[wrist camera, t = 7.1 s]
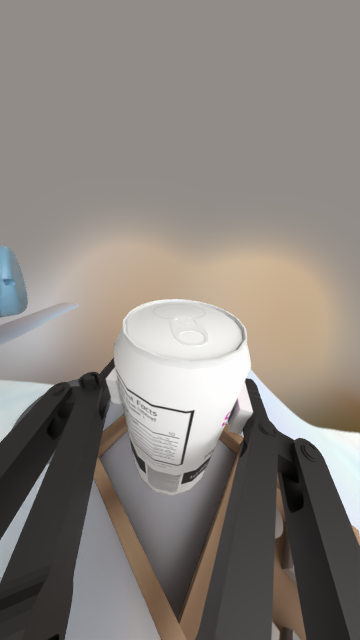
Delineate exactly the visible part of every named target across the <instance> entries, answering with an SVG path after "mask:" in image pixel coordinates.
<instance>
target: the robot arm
mask: <svg viewBox="0 0 360 640" xmlns="http://www.w3.org/2000/svg"><path fill="white" fill-rule="evenodd" d="M27 304H28V301H27V292H26V287H25V283H24V279H23V275H22V272H21V269H20V266H19V263H18V261H17V258H16V256H15V254H14V253H13V251H12V250H10V249H9V248H8V247H5V246H0V317H5V316H11V315H16V314H20V313H22V312H24V311H25V309H26V308H27ZM78 383H79V385H80V386H72V387H71V386H70V384H69V383H67V382H62V383H59V384H56V385H54V386H53V387H51V388H50V389H49V390H48V391H47V392H46V393H45V394H44V395H43V396H42V398H41V399H40V400H39V401H38V402H37V403H36V404H35V405H34V406H33V407H32V408H31V410H30V411H29V412H28V413H27V414H26V415H25V416H24V417H23V418H22V419H21V420H20V422H19V423H18V424H17V425H16V426H15V427H14V428H13V429H12V430H11V431H10V433H9V434H8V435H7V436H6V437H5V438H4V439H3V440H2V441H1V442H0V540H1V538H2V536H3V535H4V533H5V531H6V530H7V528H8V526H9V525H10V523H11V522H12V520H13V518H14V517H15V515H16V513H17V512H18V510H19V509H20V507H21V505H22V504H23V502H24V500H25V499H26V497H27V495H28V494H29V492H30V491H31V489H32V487H33V486H34V484H35V482H36V481H37V479H38V477H39V476H40V474H41V473H42V471H43V469H44V468H45V466H46V464H47V463H48V461H49V460H50V458H51V456H52V455H53V453H54V451H55V453H54V455H53V457H52V460H51V462H50V465H49V467H48V469H47V472H46V474H45V477H44V479H43V482H42V484H41V486H40V489H39V491H38V494H37V496H36V498H35V501H34V503H33V506H32V508H31V510H30V513H29V515H28V518H27V520H26V522H25V525H24V527H23V530H22V532H21V534H20V537H19V539H18V542H17V544H16V546H15V549H14V551H13V554H12V556H11V559H10V561H9V563H8V566H7V568H6V571H5V573H4V575H3V578H2V580H1V583H0V640H64V639H65V634H66V629H67V624H68V619H69V613H70V608H71V602H72V595H73V576H74V569H75V564H76V559H77V554H78V549H79V544H80V540H81V535H82V530H83V525H84V520H85V515H86V510H87V506H88V501H89V496H90V491H91V486H92V481H93V476H94V472H95V467H96V462H97V457H98V452H99V447H100V442H101V438H102V433H103V428H104V423H105V418H106V413H107V408H108V401H109V400H110V398H111V401H112V402H113V403H117V404H121V403H122V398H121V393H120V388H119V383H118V378H117V373H116V368H115V363H114V358H113V359H112V360H111V362H110V363H109V364H108V365H107V366H106V367H105V368H104V369H103V371H102V372H101V373H100V374H98V373H97V372H90V373H87V374H85V375H83V376H82V377H80V379H79V380H78ZM228 425H229V432H233V433H237V434H241V432H242V431H243V435H244V438H243V440H242V442H241V443H240V445H239V446H240V447H241V449H240V453H239V458H238V462H237V466H236V471H235V475H234V479H233V484H232V488H231V492H230V497H229V501H228V505H227V510H226V514H225V518H224V523H223V527H222V531H221V536H220V540H219V544H218V549H217V553H216V557H215V562H214V566H213V570H212V575H211V579H210V583H209V588H208V592H207V596H206V601H205V605H204V609H203V614H202V618H201V622H200V626H199V630H198V633H197V636H196V639H195V640H271V636H272V608H273V580H274V552H275V524H276V496H277V473H278V479H279V485H280V491H281V496H282V502H283V508H284V514H285V519H286V525H287V531H288V537H289V542H290V548H291V554H292V560H293V565H294V571H295V577H296V583H297V589H298V594H299V600H300V606H301V612H302V617H303V623H304V629H305V635H306V640H360V545H359V543H358V540H357V538H356V536H355V533H354V531H353V528H352V526H351V523H350V521H349V518H348V516H347V514H346V511H345V509H344V506H343V504H342V501H341V499H340V497H339V494H338V492H337V489H336V487H335V484H334V482H333V479H332V477H331V475H330V472H329V470H328V467H327V465H326V462H325V460H324V458H323V456H322V454H321V453H320V451H319V450H318V449H317V448H316V447H315V446H314V445H313V444H312V443H310V442H309V441H307V440H305V439H302V438H298V439H296V440H293V439H291V438H290V437H288V436H286V435H284V434H282V433H281V432H279V431H278V430H277V429H276V427H275V426H274V425H273V424H272V423H271V422H270V421H269V419H268V417H267V414H266V411H265V408H264V405H263V402H262V400H261V398H260V394H259V391H258V388H257V385H256V384H255V383H254V381H253V380H252V379H247V378H246V379H245V382H244V384H243V386H242V388H241V391H240V393H239V395H238V397H237V400H236V402H235V404H234V406H233V408H232V411H231V413H230V415H229V417H228Z"/></svg>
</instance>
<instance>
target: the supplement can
mask: <svg viewBox="0 0 360 640" xmlns="http://www.w3.org/2000/svg"><path fill="white" fill-rule="evenodd" d="M247 339H248V338H247V334H246V328H245V326H244V325H243V324H242V323H241V322H240V320H238V318H237V317H235V316H234V315H232V314H231V313H229V312H227V311H226V310H224V309H221V308H219V307H216V306H214V305H211V304H207V303H203V302H199V301H193V300H185V299H166V300H159V301H152V302H149V303H145V304H142V305H140V306H138V307H136V308H135V309H133V310H131V311H130V312H129V313H128V314H127V316H126V317H125V318H124V320H123V328H122V330H121V332H120V334H119V336H118V338H117V340H116V342H115V346H114V347H115V348H114V363H115V368H116V373H117V378H118V383H119V388H120V393H121V398H122V403H123V408H124V413H125V418H126V423H127V428H128V433H129V437H130V442H131V447H132V452H133V457H134V462H135V464H136V466H137V469H138V471H139V473H140V476H141V478H142V479H143V480H144V481H145V482H146V483H147V484H148V485H149V486H150V487H151V488H152V489H153V490H154V491H156V492H160V493H164V494H168V495H171V496H172V495H175V494H179V493H182V492H185V491H189V490H190V489H191V488H192V487H193V486H194V485H195V484H196V483H197V482H198V481H199V480H200V479H201V478H202V476H203V474H204V471H205V469H206V467H207V465H208V462H209V460H210V458H211V456H212V453H213V451H214V449H215V447H216V444H217V442H218V440H219V438H220V435H221V433H222V431H223V429H224V426H225V424H226V422H227V420H228V417H229V415H230V413H231V411H232V408H233V406H234V404H235V402H236V400H237V397H238V395H239V393H240V391H241V388H242V386H243V384H244V382H245V379H246V377H247V375H248V372H249V370H250V368H251V362H250V356H249V350H248V346H247Z"/></svg>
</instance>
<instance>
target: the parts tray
mask: <svg viewBox="0 0 360 640" xmlns="http://www.w3.org/2000/svg"><path fill="white" fill-rule="evenodd" d="M127 431H128V428H127V423H126V418H125V413H124V414H123V415H122V416H121V417H120V418H119V419H117V420H116V421H115V422H114V423H113V424H111V425H110V426H109V427H108V428H107V429H106V430H104V431H103V433H102V438H101V442H100V447H99V452H98V457H97V462H96V467H95V472H94V476H93V478H94V480H95V482H96V485H97V487H98V490H99V492H100V494H101V497H102V499H103V502H104V504H105V506H106V509H107V511H108V513H109V516H110V518H111V521H112V523H113V525H114V528H115V530H116V533H117V535H118V537H119V540H120V542H121V545H122V547H123V549H124V552H125V554H126V556H127V559H128V561H129V564H130V566H131V568H132V571H133V573H134V576H135V578H136V580H137V583H138V585H139V588H140V590H141V592H142V595H143V597H144V599H145V602H146V604H147V607H148V609H149V611H150V614H151V616H152V619H153V621H154V623H155V626H156V628H157V631H158V633H159V635H160V638H161V640H195V639H196V636H197V633H198V630H199V626H200V622H201V618H202V614H203V609H204V605H205V601H206V596H207V592H208V588H209V583H210V579H211V575H212V570H213V566H214V562H215V557H216V553H217V549H218V544H219V540H220V536H221V531H222V527H223V523H224V518H225V514H226V510H227V505H228V501H229V497H230V492H231V488H232V484H233V479H234V475H235V471H236V466H237V462H238V458H239V453H240V449H241V447H240V446H239V445H240V443H241V442H242V440H243V437H242V436H241V435H239V434H237V433H233V432H229V426H228V425H227V424H225V426H224V429H223V431H222V433H221V435H220V438H219V439H220V440H221V441H222V442H223V443H224V444H226V445H227V446H228V447H229V448H230V449H231V450H232V451H233V452H234V453H236V454H237V456H236V458H235V461H234V464H233V467H232V469H231V472H230V475H229V478H228V480H227V483H226V486H225V489H224V491H223V494H222V497H221V500H220V503H219V505H218V508H217V511H216V514H215V516H214V519H213V522H212V525H211V527H210V530H209V533H208V536H207V538H206V541H205V544H204V547H203V550H202V552H201V555H200V558H199V561H198V563H197V566H196V569H195V572H194V574H193V577H192V580H191V583H190V585H189V588H188V591H187V594H186V597H185V599H184V602H183V605H182V608H181V610H180V613H179V616H178V619H176V617H175V615H174V612H173V610H172V608H171V606H170V604H169V602H168V600H167V598H166V596H165V594H164V592H163V590H162V588H161V585H160V583H159V581H158V579H157V577H156V575H155V573H154V571H153V569H152V567H151V565H150V563H149V560H148V558H147V556H146V554H145V552H144V550H143V548H142V546H141V544H140V542H139V540H138V538H137V536H136V533H135V531H134V529H133V527H132V525H131V523H130V521H129V519H128V517H127V515H126V513H125V511H124V509H123V506H122V504H121V502H120V500H119V498H118V496H117V494H116V492H115V490H114V488H113V486H112V484H111V481H110V479H109V477H108V475H107V473H106V471H105V469H104V467H103V465H102V463H101V461H100V459H99V457H101V456H102V455H103V454H104V453H105V452H106V451H107V450H108V449H109V448H110V447H111V446H112V445H113V444H114V443H115V442H116V441H117V440H118V439H119V438H120V437H121V436H123V435H124V434H125V433H126V432H127ZM351 526H352V525H351ZM352 528H353V531H354V533H355V536H356V538H357V540H358V543H359V545H360V536H359V531H358V530H357V529H356V528H355V527H353V526H352ZM271 640H306V635H305V629H304V623H303V617H302V612H301V606H300V600H299V594H298V589H297V583H296V577H295V571H294V565H293V560H292V554H291V548H290V542H289V537H288V531H287V525H286V519H285V514H284V508H283V502H282V496H281V491H280V485H279V479H278V473H277V496H276V524H275V552H274V580H273V608H272V636H271Z"/></svg>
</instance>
